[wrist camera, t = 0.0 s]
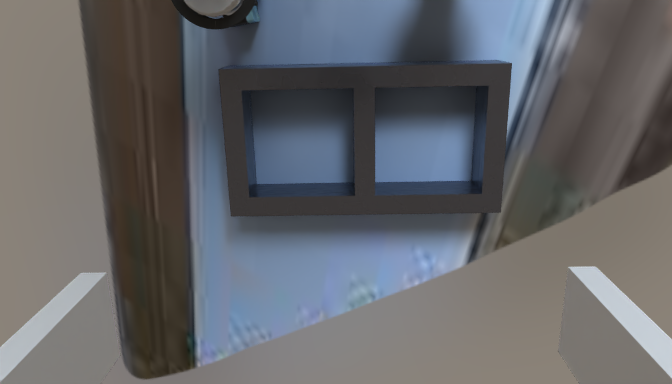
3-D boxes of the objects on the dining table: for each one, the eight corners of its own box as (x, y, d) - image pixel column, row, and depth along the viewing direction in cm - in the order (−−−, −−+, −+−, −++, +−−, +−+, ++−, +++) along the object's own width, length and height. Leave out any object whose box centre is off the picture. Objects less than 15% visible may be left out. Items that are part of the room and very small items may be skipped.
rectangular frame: (228, 65, 41) (218, 69, 37) (497, 60, 40) (511, 63, 37) (239, 202, 44) (231, 216, 40) (488, 198, 43) (500, 212, 40)
